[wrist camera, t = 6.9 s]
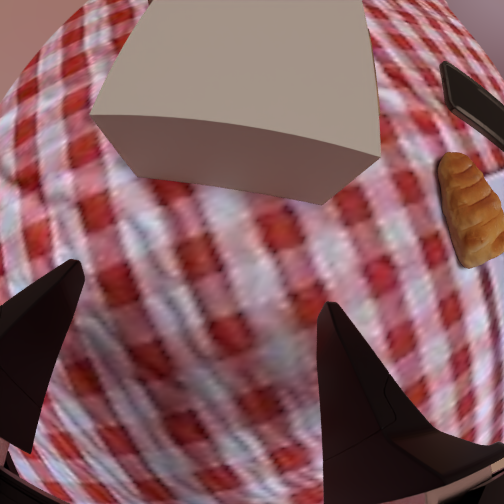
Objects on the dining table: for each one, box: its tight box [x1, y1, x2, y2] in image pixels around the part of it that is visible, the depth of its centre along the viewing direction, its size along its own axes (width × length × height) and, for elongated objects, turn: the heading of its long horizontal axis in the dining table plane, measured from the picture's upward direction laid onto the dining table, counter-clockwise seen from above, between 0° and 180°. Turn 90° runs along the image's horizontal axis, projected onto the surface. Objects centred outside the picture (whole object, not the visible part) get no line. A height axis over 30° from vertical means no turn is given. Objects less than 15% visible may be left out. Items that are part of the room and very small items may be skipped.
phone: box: [440, 61, 504, 152], centre depth 21 cm, size 8×1×15 cm
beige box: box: [90, 0, 381, 205], centre depth 15 cm, size 14×12×8 cm
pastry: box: [438, 152, 504, 269], centre depth 18 cm, size 9×7×4 cm
